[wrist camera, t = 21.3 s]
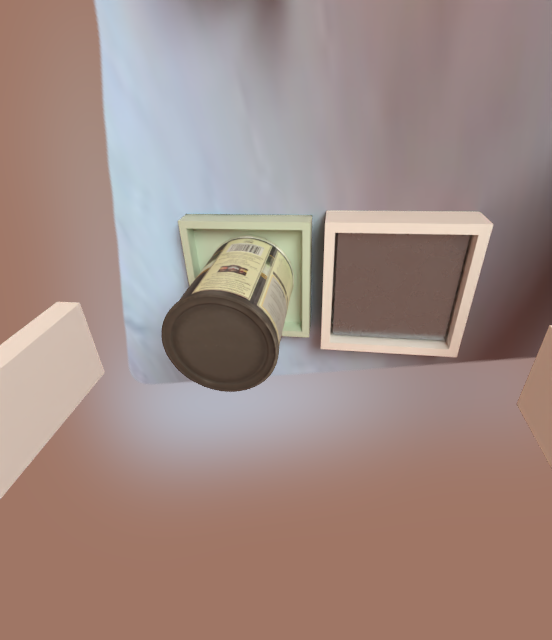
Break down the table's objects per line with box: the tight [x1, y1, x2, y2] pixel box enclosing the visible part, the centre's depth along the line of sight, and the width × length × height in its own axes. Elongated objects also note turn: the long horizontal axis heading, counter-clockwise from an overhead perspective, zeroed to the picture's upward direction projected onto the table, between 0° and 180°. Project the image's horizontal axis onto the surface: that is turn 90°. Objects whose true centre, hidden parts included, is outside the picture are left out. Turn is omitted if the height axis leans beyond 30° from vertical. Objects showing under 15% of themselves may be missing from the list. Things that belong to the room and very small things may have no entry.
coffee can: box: [162, 235, 295, 392], centre depth 38 cm, size 10×10×14 cm
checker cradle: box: [321, 211, 493, 357], centre depth 40 cm, size 15×15×4 cm
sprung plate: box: [333, 233, 470, 341], centre depth 40 cm, size 12×12×1 cm
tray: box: [178, 214, 312, 337], centre depth 43 cm, size 14×14×2 cm
